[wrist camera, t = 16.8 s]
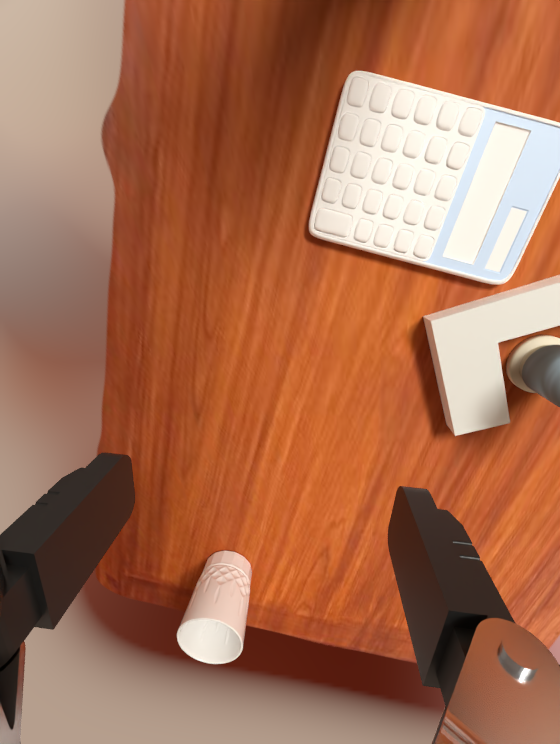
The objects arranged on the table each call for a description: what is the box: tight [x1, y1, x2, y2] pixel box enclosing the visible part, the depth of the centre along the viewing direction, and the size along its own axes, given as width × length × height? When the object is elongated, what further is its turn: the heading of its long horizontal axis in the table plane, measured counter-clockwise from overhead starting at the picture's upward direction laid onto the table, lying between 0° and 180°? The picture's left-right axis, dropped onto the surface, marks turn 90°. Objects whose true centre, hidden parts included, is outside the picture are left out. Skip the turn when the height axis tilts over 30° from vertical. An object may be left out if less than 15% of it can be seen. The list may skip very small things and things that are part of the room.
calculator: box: [309, 71, 560, 285], centre depth 31 cm, size 13×20×2 cm, turn 76°
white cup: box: [177, 550, 252, 664], centre depth 44 cm, size 8×8×10 cm
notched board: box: [423, 275, 560, 436], centre depth 34 cm, size 13×20×2 cm, turn 109°
